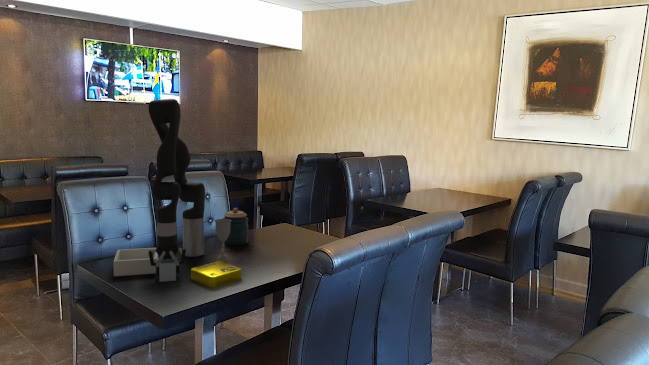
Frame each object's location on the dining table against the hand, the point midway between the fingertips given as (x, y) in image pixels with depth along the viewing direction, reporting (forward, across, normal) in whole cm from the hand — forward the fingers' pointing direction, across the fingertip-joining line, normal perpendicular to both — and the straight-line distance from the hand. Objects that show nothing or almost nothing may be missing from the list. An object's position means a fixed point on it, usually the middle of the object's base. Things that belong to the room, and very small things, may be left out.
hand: (167, 274), depth 183 cm
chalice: (+1, -23, -17) cm, 29 cm away
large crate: (+1, +12, -14) cm, 19 cm away
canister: (+1, -32, -45) cm, 55 cm away
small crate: (+1, 0, 0) cm, 1 cm away
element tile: (+2, -18, +5) cm, 19 cm away
